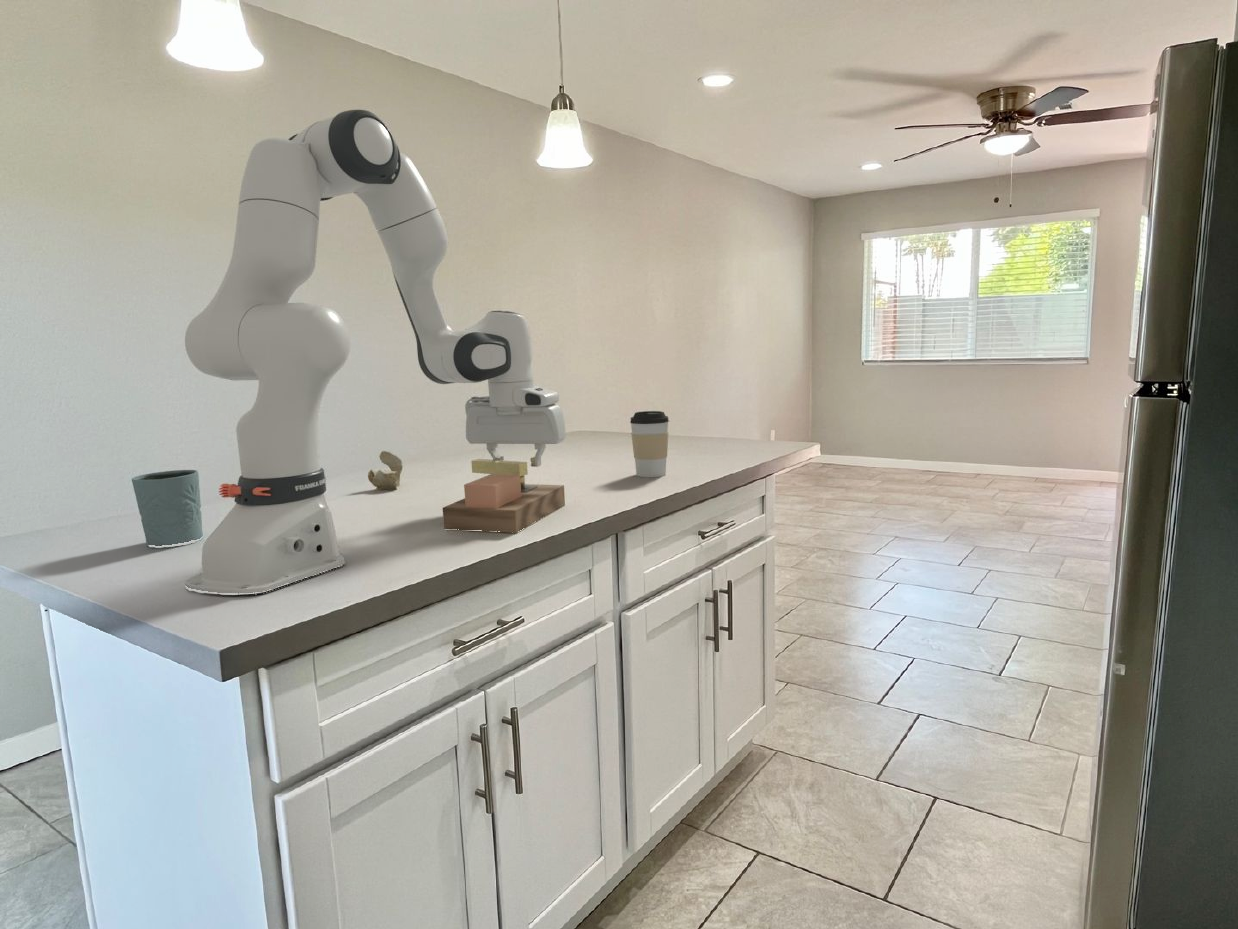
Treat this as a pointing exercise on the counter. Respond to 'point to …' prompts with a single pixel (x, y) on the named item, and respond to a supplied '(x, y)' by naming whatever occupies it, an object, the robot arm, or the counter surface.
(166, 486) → the green embossed plant pot
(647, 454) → the coffee cup
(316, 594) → the counter surface
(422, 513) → the counter surface
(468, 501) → the salmon orange block
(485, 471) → the yellow lever handle
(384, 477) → the tan squirrel figurine
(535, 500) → the base
